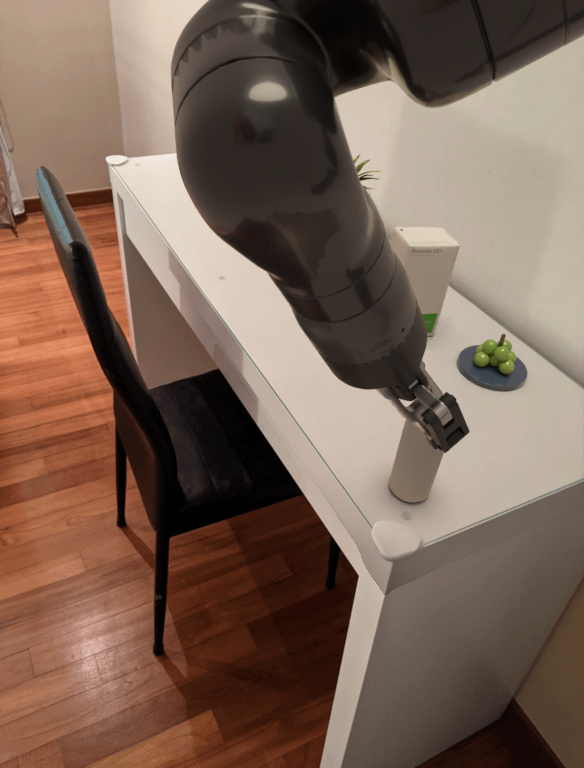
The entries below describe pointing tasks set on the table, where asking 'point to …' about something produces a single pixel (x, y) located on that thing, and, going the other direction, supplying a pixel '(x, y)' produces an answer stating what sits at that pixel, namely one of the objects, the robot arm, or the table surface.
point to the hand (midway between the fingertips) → (409, 406)
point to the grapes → (493, 365)
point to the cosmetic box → (427, 266)
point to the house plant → (364, 172)
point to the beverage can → (414, 465)
